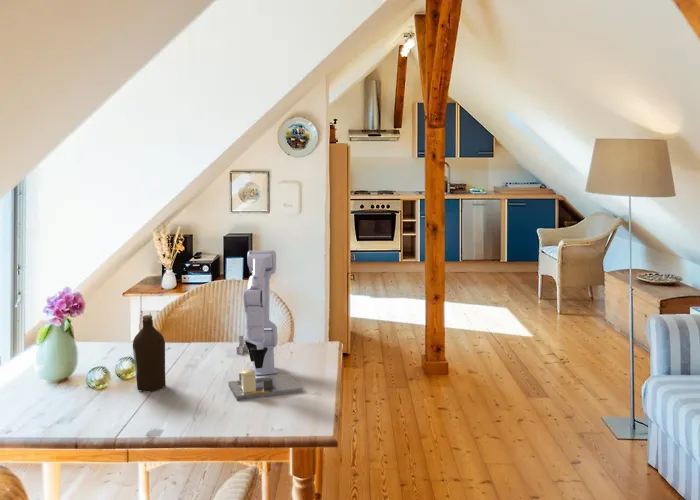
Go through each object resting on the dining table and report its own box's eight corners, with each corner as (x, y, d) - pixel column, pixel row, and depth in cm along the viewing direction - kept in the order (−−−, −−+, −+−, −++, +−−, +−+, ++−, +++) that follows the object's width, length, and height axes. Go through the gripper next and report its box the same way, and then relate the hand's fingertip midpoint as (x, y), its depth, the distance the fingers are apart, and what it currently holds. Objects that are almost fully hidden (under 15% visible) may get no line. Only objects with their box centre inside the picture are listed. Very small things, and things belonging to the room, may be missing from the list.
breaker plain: (239, 381, 257) (239, 373, 257) (248, 380, 258) (247, 372, 258) (240, 383, 255) (240, 375, 254) (249, 382, 256) (249, 374, 255)
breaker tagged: (262, 386, 252) (261, 378, 251) (270, 385, 253) (270, 377, 252) (263, 389, 249) (263, 381, 249) (272, 388, 250) (272, 380, 250)
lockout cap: (240, 388, 251) (239, 370, 250) (254, 386, 252) (253, 368, 251) (242, 393, 246) (242, 374, 245) (256, 391, 248) (256, 373, 247)
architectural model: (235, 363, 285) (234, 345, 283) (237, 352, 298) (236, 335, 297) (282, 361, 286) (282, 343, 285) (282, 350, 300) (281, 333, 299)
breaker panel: (228, 385, 258) (228, 381, 258) (290, 378, 265) (290, 373, 265) (237, 400, 244) (236, 395, 244) (302, 391, 251) (302, 387, 251)
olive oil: (170, 381, 263) (166, 312, 259) (163, 392, 253) (159, 319, 249) (139, 382, 263) (135, 312, 259) (131, 393, 252) (127, 320, 248)
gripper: (238, 320, 254) (240, 359, 257) (247, 331, 241) (248, 372, 243) (259, 318, 257) (260, 357, 259) (269, 329, 243) (270, 370, 245)
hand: (256, 364), depth 251 cm, fingers open, 7 cm apart
